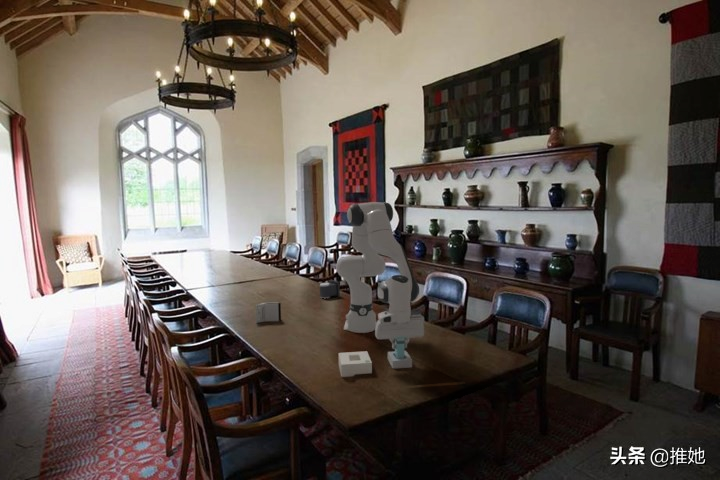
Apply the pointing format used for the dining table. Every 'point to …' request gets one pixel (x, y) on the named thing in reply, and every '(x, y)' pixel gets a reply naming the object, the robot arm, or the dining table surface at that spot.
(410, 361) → the holster
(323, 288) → the dark grey block
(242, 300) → the dining table surface
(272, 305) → the hinge
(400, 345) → the plug
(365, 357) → the port block
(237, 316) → the dining table surface
